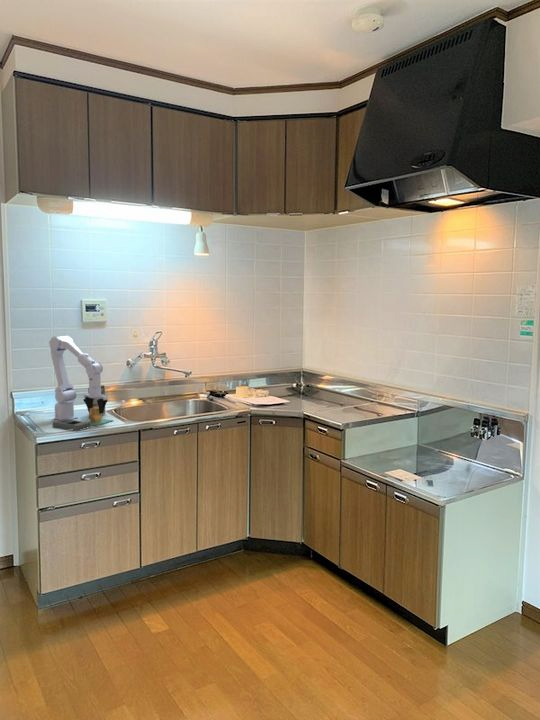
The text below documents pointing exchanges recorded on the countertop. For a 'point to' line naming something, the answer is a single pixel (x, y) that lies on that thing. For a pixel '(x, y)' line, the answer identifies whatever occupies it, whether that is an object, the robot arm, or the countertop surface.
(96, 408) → the peg
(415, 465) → the countertop surface
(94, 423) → the mat
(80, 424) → the rail plate
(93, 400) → the coffee box
